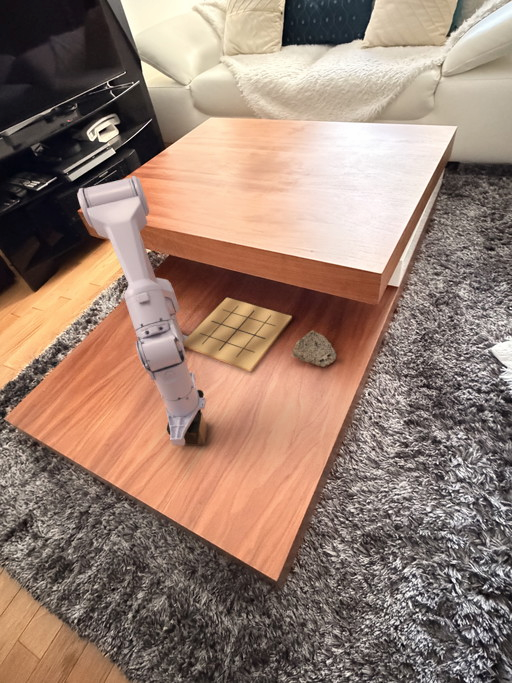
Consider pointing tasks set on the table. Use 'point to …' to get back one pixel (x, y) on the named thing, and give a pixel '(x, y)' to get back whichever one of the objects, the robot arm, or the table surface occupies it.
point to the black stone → (200, 429)
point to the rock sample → (314, 349)
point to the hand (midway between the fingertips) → (194, 432)
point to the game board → (237, 333)
